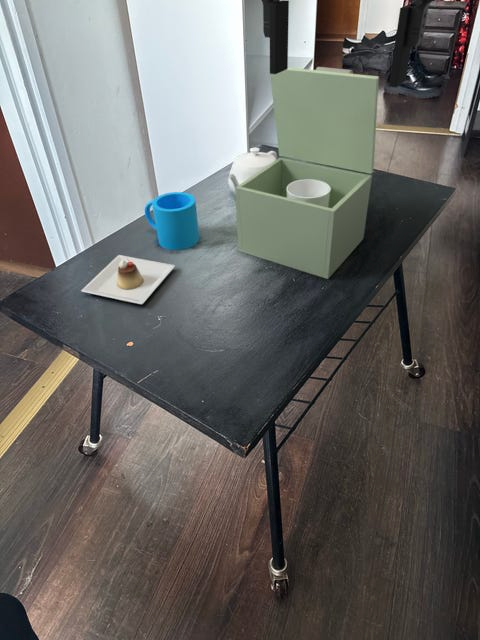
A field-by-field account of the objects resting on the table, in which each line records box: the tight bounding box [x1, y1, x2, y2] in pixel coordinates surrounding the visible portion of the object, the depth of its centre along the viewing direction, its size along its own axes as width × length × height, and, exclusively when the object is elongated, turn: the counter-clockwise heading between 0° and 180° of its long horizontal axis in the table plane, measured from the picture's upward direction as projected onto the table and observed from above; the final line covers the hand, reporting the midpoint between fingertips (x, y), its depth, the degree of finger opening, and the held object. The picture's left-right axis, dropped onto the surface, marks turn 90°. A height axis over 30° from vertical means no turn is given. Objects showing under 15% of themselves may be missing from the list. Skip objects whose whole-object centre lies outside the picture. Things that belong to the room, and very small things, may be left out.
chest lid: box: [269, 66, 380, 175], centre depth 82 cm, size 16×19×6 cm
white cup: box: [286, 179, 331, 207], centre depth 88 cm, size 8×8×10 cm
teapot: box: [227, 147, 278, 195], centre depth 106 cm, size 20×12×10 cm, turn 148°
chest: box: [235, 156, 373, 280], centre depth 87 cm, size 16×19×13 cm
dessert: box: [80, 254, 176, 305], centre depth 82 cm, size 12×12×5 cm
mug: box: [144, 191, 200, 251], centre depth 93 cm, size 12×8×8 cm
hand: (334, 77), depth 50 cm, fingers open, 13 cm apart
